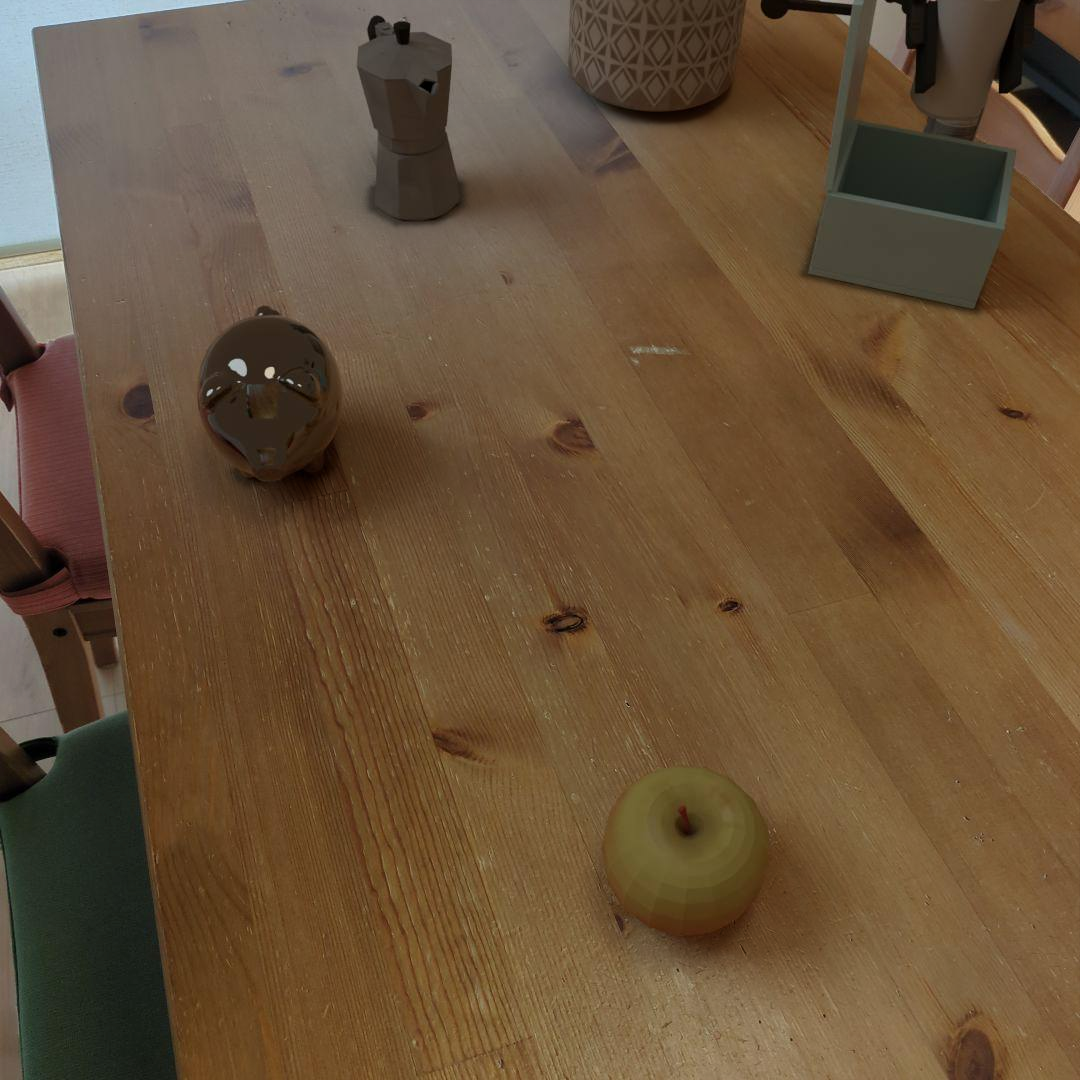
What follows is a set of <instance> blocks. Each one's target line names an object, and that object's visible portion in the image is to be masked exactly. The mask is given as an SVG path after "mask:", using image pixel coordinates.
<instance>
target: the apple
mask: <svg viewBox="0 0 1080 1080" xmlns="http://www.w3.org/2000/svg"><path fill="white" fill-rule="evenodd" d="M603 835H604V836H603V841H602V846H601V851H602V858H603V864H604V868H605V874H606V878H607V883H608V886H609V887H610V888H611V890H612V892H613V894H614V895H615V896H616V898H617V899H618V901H619V903H620V904H621V906H622V907H623V909H624V910H625V911H627V912H628V913H629V914H631V915H632V916H633V917H634V918H636V919H637V920H639V921H640V922H641V923H643V924H644V925H646V926H647V927H648V928H651V929H655V930H658V931H660V932H661V931H662V932H665V933H668V934H673V935H676V936H679V937H681V936H691V935H703V934H704V935H705V934H711V933H713V932H715V931H718V930H720V929H721V928H723V927H725V926H727V925H729V924H731V923H734V922H735V921H737V920H738V919H739V918H741V916H742V915H743V913H744V912H745V911H747V909H748V907H749V906H750V905H751V904H752V903H753V902H754V901H755V900H756V898H757V897H758V895H759V894H760V892H761V889H762V886H763V882H764V880H765V876H766V873H767V869H768V866H769V863H770V857H771V849H770V842H769V841H770V839H769V830H768V825H767V823H766V821H765V818H764V817H763V815H762V812H761V811H760V809H759V807H758V805H757V803H756V801H755V800H754V798H753V797H751V796H750V795H749V794H748V793H747V792H746V791H745V790H744V789H743V788H742V787H740V785H738V783H736V782H735V781H734V780H733V779H732V778H731V777H729V776H727V775H724V774H722V773H720V772H718V771H716V770H713V769H711V768H709V767H706V766H699V765H690V764H689V765H686V764H675V765H671V766H667V767H663V768H659V769H656V770H652V771H649V772H647V773H645V774H644V775H643V776H641V777H640V778H638V779H637V780H635V781H634V782H632V783H631V784H629V785H628V786H626V787H625V788H624V790H622V793H621V794H620V796H618V798H617V800H616V801H615V802H614V804H613V806H612V807H611V809H610V810H609V812H608V816H607V819H606V825H605V831H604V834H603Z"/></svg>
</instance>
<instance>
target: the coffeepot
mask: <svg viewBox="0 0 1080 1080" xmlns="http://www.w3.org/2000/svg"><path fill="white" fill-rule="evenodd" d="M366 32H367V38H368V41H366V42H365V43H363V44H361V45H359V46H357V56H356V57H357V58H356V70H357V72H358V76H359V80H360V83H361V86H362V90H363V93H364V97H365V101H366V105H367V108H368V111H369V115H370V119H371V122H372V123H371V124H372V126H373V129H374V130H376V131H377V145H376V167H375V168H376V171H375V189H374V190H375V192H374V206H375V207H377V208H378V209H379V210H380V211H381V212H383V213H385V214H386V215H388V216H390V217H391V218H394V219H395V218H396V219H397V220H398V219H399V220H404V221H410V222H411V221H417V222H418V221H419V222H420V221H427V220H432V219H436V218H438V217H441V216H443V215H445V214H448V212H450V211H451V210H453V209H454V208H455V206H456V205H457V204H459V203H460V182H459V178H458V173H457V170H456V165H455V161H454V158H453V157H454V156H453V153H452V150H451V145H450V141H449V137H448V132H447V131H446V127H447V126H448V116H449V106H450V105H449V104H450V91H451V82H452V68H453V50H452V49H453V48H452V43H451V42H447V41H445V40H443V39H441V38H438V37H437V36H434V35H432V34H429V33H427V32H426V31H411V22H409V21H407V20H399V21H396V22H394V23H393V25H392V24H391V23H390V22H389V21H387V20H386V19H385V18H384V17H383V16H381V15H378V14H377V15H373V16H372V17H370V20H369V21H368V25H367V27H366Z"/></svg>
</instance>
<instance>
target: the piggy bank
mask: <svg viewBox="0 0 1080 1080" xmlns="http://www.w3.org/2000/svg"><path fill="white" fill-rule="evenodd" d="M195 393H196V395H195V396H196V406H197V412H198V416H199V421H200V423H201V426H202V429H203V431H204V433H205V435H206V437H207V439H208V441H209V442H210V444H211V445H212V447H213V448H214V450H216V452H217V453H218V454H219V455H220V456H221V457H222V458H223V459H224V460H226V461H227V462H228V463H229V464H231V465H233V466H234V467H236V468H238V469H239V471H240V473H241V474H242V475H243V476H244V477H246V478H249V479H252V478H256V479H257V480H259V481H262V482H276V481H280V480H282V479H283V478H285V477H286V476H288V475H291V474H294V473H296V472H298V471H300V470H303V471H304V472H306V473H312V474H313V473H317V472H319V471H320V470H321V469H323V467H324V465H325V456H324V451H325V450H326V449H327V448H328V446H329V445H330V443H331V442H332V440H333V439H334V437H335V434H336V432H337V430H338V427H339V424H340V421H341V417H342V412H343V406H344V386H343V379H342V374H341V371H340V367H339V364H338V362H337V360H336V358H335V355H334V354H333V352H332V350H331V348H330V347H329V345H328V344H327V343H326V341H324V339H323V338H322V337H321V336H320V335H319V334H318V333H317V332H316V331H314V330H313V329H312V328H311V327H309V326H308V325H306V324H304V323H302V322H301V321H298V320H296V319H294V318H291V317H288V316H284V315H282V314H281V313H280V312H279V311H278V310H276V309H274V308H273V307H272V306H269V305H260V306H258V308H256V310H255V312H254V315H252V316H248V317H246V318H243V319H240V320H238V321H236V322H234V323H232V324H230V325H229V326H227V327H226V328H225V329H224V330H222V331H220V333H219V334H218V335H217V336H216V337H215V338H214V339H213V340H212V342H211V343H210V345H209V346H208V347H207V349H206V351H205V353H204V355H203V357H202V359H201V362H200V365H199V369H198V372H197V379H196V392H195Z"/></svg>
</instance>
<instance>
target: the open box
mask: <svg viewBox="0 0 1080 1080" xmlns="http://www.w3.org/2000/svg"><path fill="white" fill-rule="evenodd" d="M1016 157H1017V149H1016V148H1011V147H1005V146H1000V145H995V144H990V143H984V142H978V141H968V140H963V139H958V138H952V137H947V136H941V135H936V134H930V133H925V132H923V131H919V130H913V129H909V128H908V129H907V128H902V127H898V126H893V125H887V124H881V123H875V122H870V121H864V120H859V119H855V122H854V125H853V128H852V131H851V134H850V137H849V141H848V144H847V147H846V150H845V153H844V156H843V159H842V162H841V165H840V168H839V171H838V174H837V177H836V180H835V183H834V186H833V189H832V190H828V189H827V192H826V197H825V200H824V204H823V209H822V213H821V217H820V222H819V226H818V231H817V234H816V239H815V242H814V247H813V251H812V254H811V260H810V263H809V267H808V272H807V273H808V275H812V276H817V277H820V278H821V277H822V278H827V279H831V280H835V281H840V282H845V283H850V284H854V285H858V286H862V287H866V288H867V287H868V288H873V289H877V290H882V291H887V292H891V293H894V294H895V293H896V294H900V295H904V296H909V297H914V298H919V299H924V300H928V301H933V302H938V303H943V304H946V305H952V306H957V307H961V308H966V309H971V310H974V309H975V307H976V305H977V302H978V300H979V297H980V294H981V292H982V289H983V287H984V284H985V282H986V279H987V277H988V274H989V272H990V269H991V266H992V264H993V261H994V259H995V256H996V253H997V252H998V248H999V245H1000V243H1001V241H1002V238H1003V236H1004V233H1005V230H1006V224H1007V218H1008V212H1009V211H1008V210H1009V206H1010V205H1009V204H1010V196H1011V190H1012V185H1013V176H1014V171H1015V170H1014V169H1015V163H1016Z"/></svg>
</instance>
